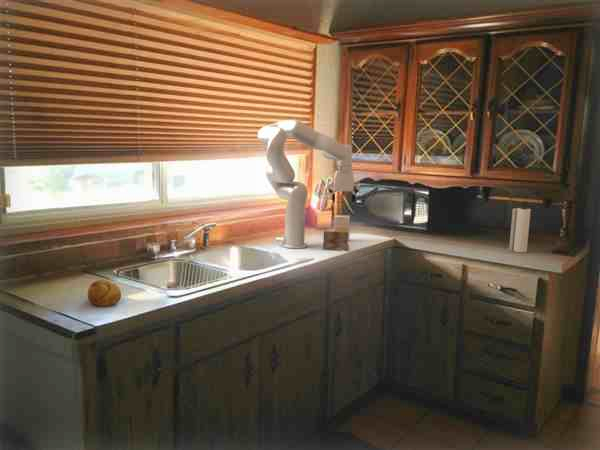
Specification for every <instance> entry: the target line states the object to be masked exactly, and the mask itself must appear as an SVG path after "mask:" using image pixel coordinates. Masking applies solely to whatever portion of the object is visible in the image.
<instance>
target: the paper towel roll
mask: <svg viewBox="0 0 600 450" xmlns="http://www.w3.org/2000/svg"><path fill="white" fill-rule="evenodd" d="M530 219H531V208H525V207H516V208H512V214H511V224H510V235H509V236H510V237H509V246H508V247H509V249H508V251H510V252H511V251H513V252H515V253H521V254H522V253H523V254H524V253H527V252H528V251H527V250H528V243H529V242H528V241H529V233H530V232H529V230H530V223H531V222H530Z"/></svg>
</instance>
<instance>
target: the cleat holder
mask: <svg viewBox="0 0 600 450" xmlns="http://www.w3.org/2000/svg"><path fill="white" fill-rule="evenodd" d="M322 242H323V243H322V250H323V251H340V250H344V252H348V251H349V241H348V232H334V230H333V231H330V230H329V231H328V230H327V231H326V230H324V231H323V241H322Z"/></svg>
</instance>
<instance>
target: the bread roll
mask: <svg viewBox="0 0 600 450" xmlns="http://www.w3.org/2000/svg"><path fill="white" fill-rule="evenodd" d="M121 298H122V292H121V289H120V287H119V286H118V285H117V284H116V283H112V282H111V281H109V280H107V279H98V280H95V281H94V282H92V283H91V284H89V286H88V289H87V299H88V300H89V303H91V304H92V305H93V306H95V305H96V307H99V306H104V307H109V306H108V305H110V306H113V304H114V305H116V304H117V303H119V301H120V300H121Z"/></svg>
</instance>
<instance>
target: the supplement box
mask: <svg viewBox="0 0 600 450" xmlns="http://www.w3.org/2000/svg"><path fill="white" fill-rule="evenodd" d="M350 219H351V215H346V214H345V215H343V214H341V215H339V214H335V215H333V231H334V232H348V242H350V234H351V233H350V231H351V229H350V226H351V225H350V224H351V223H350V222H351V220H350Z"/></svg>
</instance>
